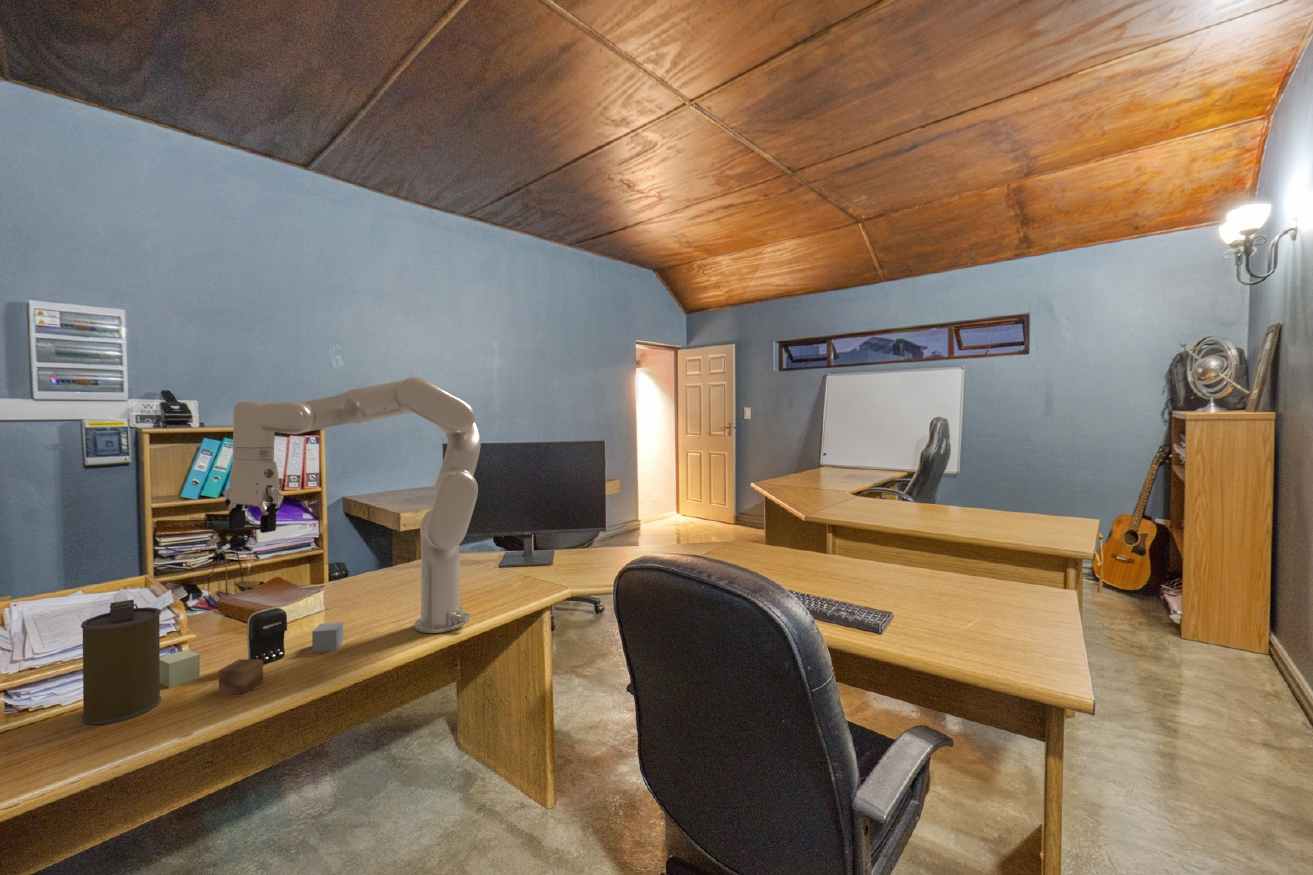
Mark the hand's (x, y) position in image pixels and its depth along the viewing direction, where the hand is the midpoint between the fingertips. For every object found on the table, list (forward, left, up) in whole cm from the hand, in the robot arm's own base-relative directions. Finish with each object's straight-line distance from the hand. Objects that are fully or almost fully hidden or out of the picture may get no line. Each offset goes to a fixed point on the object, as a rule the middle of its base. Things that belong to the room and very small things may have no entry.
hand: (252, 530), depth 121 cm
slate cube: (-12, -9, -29) cm, 33 cm away
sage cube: (+3, +13, -29) cm, 32 cm away
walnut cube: (-13, +12, -29) cm, 34 cm away
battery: (-6, +1, -29) cm, 30 cm away
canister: (0, +24, -29) cm, 38 cm away
